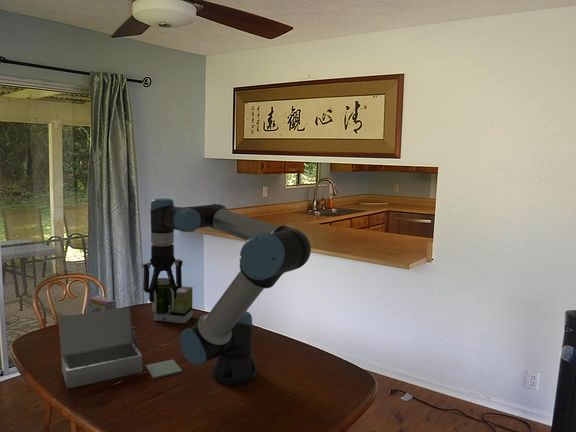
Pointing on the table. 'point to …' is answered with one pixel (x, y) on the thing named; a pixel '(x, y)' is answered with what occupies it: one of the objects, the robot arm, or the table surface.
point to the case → (98, 334)
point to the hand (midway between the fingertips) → (163, 309)
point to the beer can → (163, 296)
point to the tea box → (179, 307)
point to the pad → (163, 368)
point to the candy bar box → (101, 304)
